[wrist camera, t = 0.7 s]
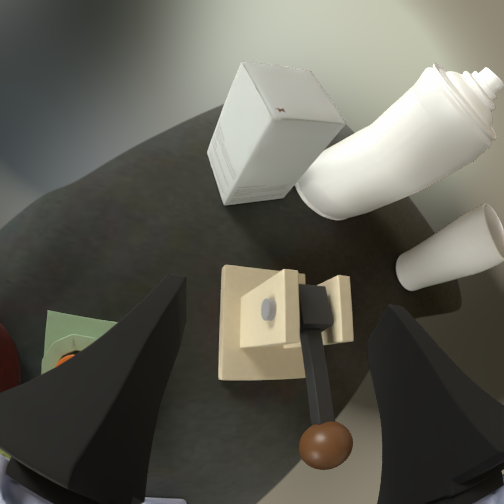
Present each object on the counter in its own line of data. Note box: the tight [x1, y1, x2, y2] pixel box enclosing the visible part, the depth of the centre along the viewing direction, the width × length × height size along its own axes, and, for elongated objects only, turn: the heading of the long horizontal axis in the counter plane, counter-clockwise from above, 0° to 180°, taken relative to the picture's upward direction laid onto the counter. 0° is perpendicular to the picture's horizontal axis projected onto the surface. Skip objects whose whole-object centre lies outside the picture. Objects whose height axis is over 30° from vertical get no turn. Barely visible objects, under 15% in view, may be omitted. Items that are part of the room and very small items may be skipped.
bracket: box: [219, 265, 354, 380], centre depth 21 cm, size 10×8×10 cm
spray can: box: [295, 63, 504, 220], centre depth 23 cm, size 12×11×25 cm
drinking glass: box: [396, 203, 504, 291], centre depth 28 cm, size 7×7×15 cm
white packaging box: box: [207, 61, 346, 206], centre depth 25 cm, size 7×7×13 cm
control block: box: [42, 311, 118, 374], centre depth 18 cm, size 10×8×3 cm
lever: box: [299, 284, 353, 470], centre depth 16 cm, size 12×3×3 cm, turn 0°
